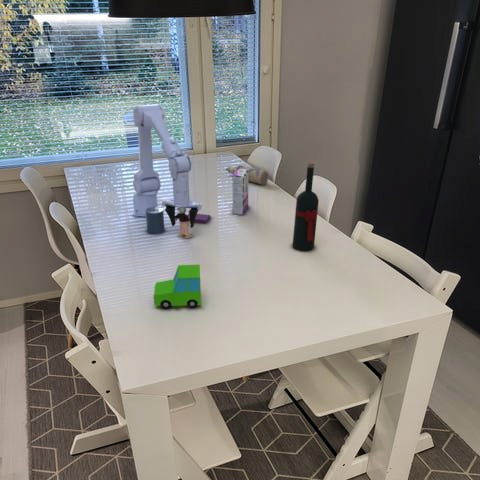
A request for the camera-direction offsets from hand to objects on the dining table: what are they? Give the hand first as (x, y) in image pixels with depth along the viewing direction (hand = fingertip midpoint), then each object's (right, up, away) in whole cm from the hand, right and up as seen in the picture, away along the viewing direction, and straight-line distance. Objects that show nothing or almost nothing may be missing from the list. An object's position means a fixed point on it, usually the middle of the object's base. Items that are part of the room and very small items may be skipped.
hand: (182, 226), depth 181 cm
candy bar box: (+22, +12, +27) cm, 36 cm away
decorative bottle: (+25, +37, +66) cm, 80 cm away
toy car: (+3, -30, -40) cm, 50 cm away
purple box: (+4, +6, +17) cm, 18 cm away
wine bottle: (+45, -9, -6) cm, 46 cm away
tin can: (-11, -1, +6) cm, 12 cm away
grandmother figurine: (0, -4, +2) cm, 4 cm away
